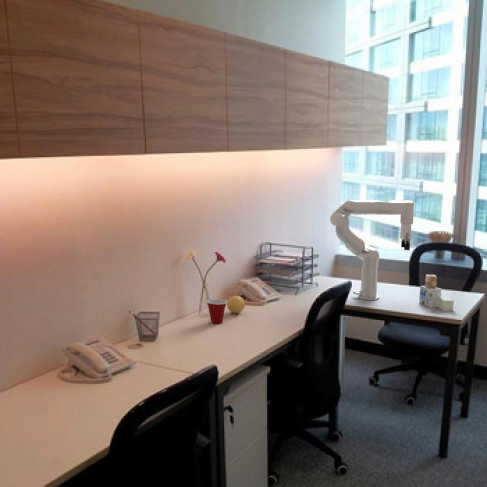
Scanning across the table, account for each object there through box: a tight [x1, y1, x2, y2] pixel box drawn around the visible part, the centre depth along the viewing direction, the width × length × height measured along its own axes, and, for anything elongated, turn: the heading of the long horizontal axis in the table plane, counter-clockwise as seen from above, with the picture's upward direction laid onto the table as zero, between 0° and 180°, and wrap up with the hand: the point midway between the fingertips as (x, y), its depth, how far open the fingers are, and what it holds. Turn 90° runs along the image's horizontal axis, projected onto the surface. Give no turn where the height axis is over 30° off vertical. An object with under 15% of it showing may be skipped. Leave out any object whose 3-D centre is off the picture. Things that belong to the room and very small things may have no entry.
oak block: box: [424, 274, 438, 288], centre depth 303 cm, size 5×5×7 cm
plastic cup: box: [206, 298, 228, 325], centre depth 274 cm, size 11×11×12 cm
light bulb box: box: [418, 285, 442, 308], centre depth 305 cm, size 11×7×11 cm, turn 24°
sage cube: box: [437, 297, 455, 312], centre depth 297 cm, size 6×6×6 cm
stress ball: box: [226, 295, 246, 315], centre depth 290 cm, size 10×10×10 cm
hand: (405, 248), depth 320 cm, fingers open, 9 cm apart
